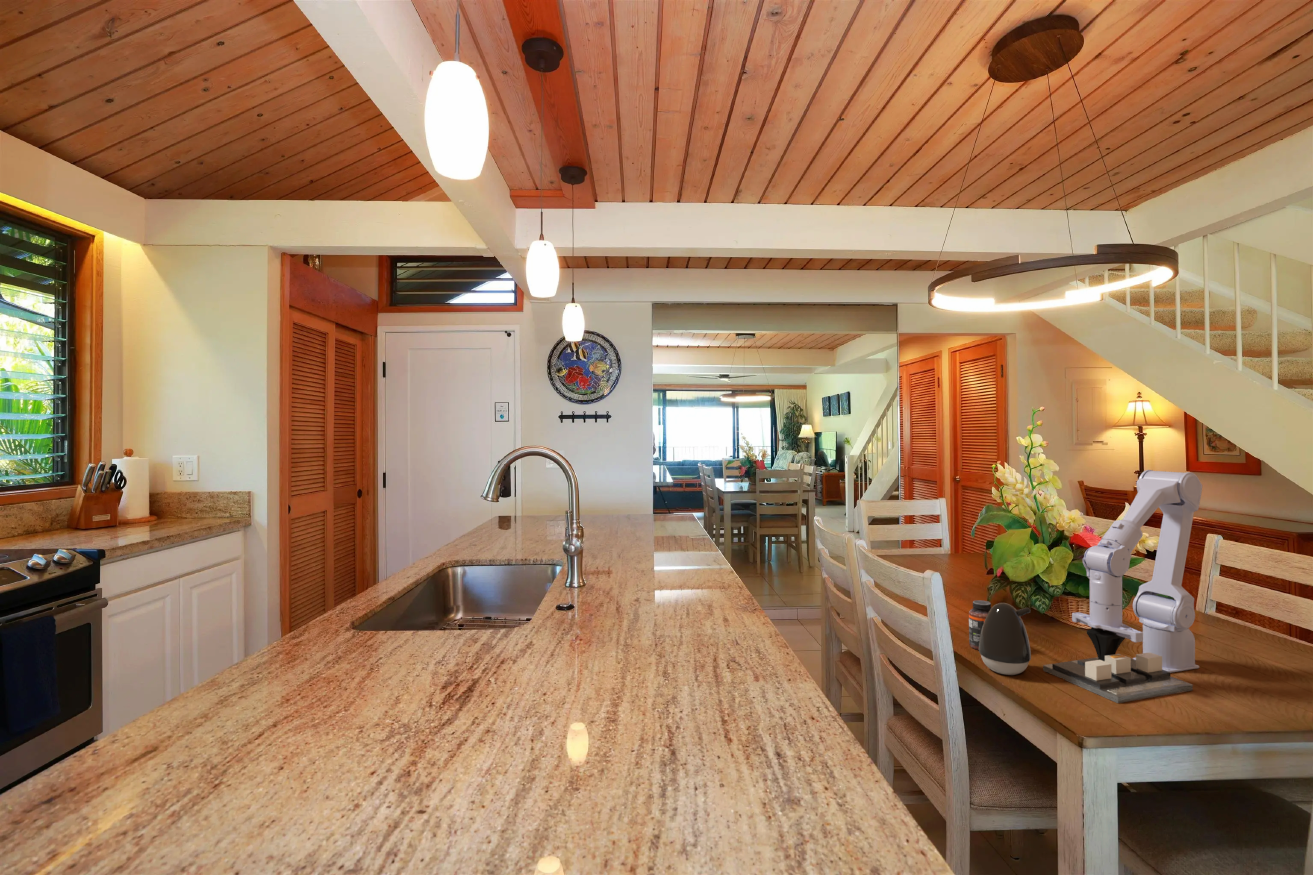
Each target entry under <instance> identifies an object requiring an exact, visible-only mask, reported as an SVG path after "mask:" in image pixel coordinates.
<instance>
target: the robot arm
mask: <svg viewBox="0 0 1313 875" xmlns="http://www.w3.org/2000/svg"><path fill="white" fill-rule="evenodd" d="M1135 486H1136V490H1137V494H1136V495H1135V497H1134V499H1133V500H1132V502H1131V504H1130V506H1129V508H1128V510H1127V511H1126V513H1125V515H1124V516H1123V518H1122V519H1119V520H1118V519H1117V520H1114V521H1113V522H1112V524H1111V525H1110V527H1109V528H1108V529H1107V530H1106V532H1105V533H1104V535H1103V537H1101V539H1100V540H1099V542H1098V543H1097V545H1093V546H1091V547H1088V548H1087V549H1086V550H1085V552H1084V555H1083V558H1082V564H1083V567H1084V568H1085V571H1086V577H1087V578H1088V579H1089V614H1087V613H1083V612H1078V611H1077V612H1072V613H1071V621H1072V622H1073V623H1078V624H1079V623H1080V624H1083V625H1086V626H1088V627H1090V629H1087V630H1086V634H1087V636H1088V637H1089V639H1090V641H1091V643H1092V645H1093V647H1094V650H1095V652H1096V655H1097V656H1096V657H1098V659H1099V660H1102V661H1105V656H1107V655H1114V654H1117V651H1118V649H1119V647H1120V646H1121V644H1122V643H1123V642H1124V640H1125V639H1128V640H1130V641H1131V642H1133V643H1142V653H1149V652H1151V653H1154V654H1156V655H1159V656H1162V670H1165V671H1168V672H1170V673H1175V672H1182V671H1189V670H1195V669H1199V668H1200V665H1198V664H1196V638H1195V635H1194V633H1193V632H1192V631H1191V630H1190V627H1191V626H1193V624H1194V621H1195V620H1196V612H1195V598H1194V596H1192V594H1191V593H1189V592H1188V591H1187V590H1186V589H1185V588H1184V587H1183V586H1182V585H1183V580H1184V579H1183V578H1184V572H1185V565H1186V561H1187V556H1188V549H1189V544H1190V538H1191V532H1192V526H1193V525H1192V524H1193V520H1194V513H1195V512H1197V511H1199V508H1200V503H1201V498H1202V492H1203V484H1202V482H1201V480H1200V478H1199V477H1198V476H1197V474H1196V473H1194V472H1191V471H1190V472H1179V471H1166V470H1165V471H1164V470H1163V471H1162V470H1153V469H1146V470H1143V472H1142V473H1140V476H1139V477H1138V480H1136V485H1135ZM1158 508H1159V509H1160V510H1161V512H1162V514H1163V516H1162V521H1161V525H1160V533H1159V538H1158V544H1157V548H1156V556H1155V561H1154V566H1153V572H1152V578H1151V580H1149V581H1147V582H1145V583H1142V584H1141V585H1139V586H1138V591H1137V594H1136V596H1135V597H1134V599H1133V602H1132V609H1133V613H1134V615H1135V616H1136V618H1138V619H1139V620H1138V621H1139V623H1141V624H1142V631H1140V630H1137V629H1135V628H1132V627H1131V626H1129V625H1127V624H1125V623H1123V576H1124V575H1125V574H1126V573H1127V572H1128V571H1129V568H1130V561H1131V560H1132V552H1133V551H1134V549H1135V548H1136V546H1137V545H1138V544H1139V542H1140V541H1141V539H1142V538H1143V536H1144V533H1143V531H1142V529H1141V528H1142V527H1143V526H1144V524H1145V523H1146V522H1148V520H1149V519H1150V518H1151V517H1152V515H1153V514H1154V513H1155V512H1156V510H1158ZM1162 595H1163V596H1162ZM1166 596H1168V597H1166ZM1170 597H1171V598H1170ZM1132 659H1134V660H1136V657H1133V658H1132Z"/></svg>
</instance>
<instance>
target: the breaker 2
mask: <svg viewBox="0 0 1313 875" xmlns="http://www.w3.org/2000/svg"><path fill="white" fill-rule="evenodd" d="M1135 658H1136V668H1137V669H1140V670H1142V671H1145V672H1148V673H1149V672H1155V671H1162V656H1159V655H1156V654H1154V653H1151V652H1149V653H1143V652H1142V653H1137V654H1135Z"/></svg>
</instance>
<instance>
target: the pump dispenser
mask: <svg viewBox="0 0 1313 875" xmlns="http://www.w3.org/2000/svg"><path fill="white" fill-rule="evenodd" d="M1029 613H1031V609H1030V608H1029V607H1025V608H1021V609H1016V608H1015V607H1014V606H1013V605H1011V604H1009V603H1006V602H999V603H995V604H994V605H993V606H991V609H990V611H989V613H988V614H987V616H986V619H985V621H984V624H983V627H982V630H981V635H980V641H979V650H978V653H979V654H980V656H981V660H982V662H983V663H984V665H985V666H986V667H987V668H988V669H989V670H991V671H993V672H995V673H996V674H999V675H1005V676H1016V675H1019V674H1021V673H1023V672H1024V671H1025V670H1027V667H1028V666H1029V663H1030V661H1031V660H1032V654H1031V653H1032V652H1031V645H1030V640H1029V636H1028V633H1027V632H1028V631H1027V629H1026V625H1025V624H1024V622H1023V619H1022V618H1021V617H1023V616H1025V615H1027V614H1029Z"/></svg>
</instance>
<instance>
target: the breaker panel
mask: <svg viewBox="0 0 1313 875" xmlns="http://www.w3.org/2000/svg"><path fill="white" fill-rule="evenodd" d="M1130 658H1131V657H1130ZM1095 660H1099V659H1098V656H1096V657H1090V658H1083V659H1076V660H1070V661H1069V660H1068V661H1063V662H1062V661H1061V662H1056V663H1048V664H1042V667H1043V668H1042V670H1043V672H1045V673H1048V674H1051V675H1053V676H1055V677H1057V678H1059V679H1061V678H1063V679H1062V680H1064V679H1065V680H1064V681H1066V682H1069V683H1071V684H1073V685H1075V686H1078V687H1080V688H1082V689H1084V690H1087V691H1089V692H1091V693H1094V694H1096V695H1098V696H1101V697H1102V698H1105V699H1107V700H1110V701H1112V702H1113V703H1116V704H1121V703H1126V702H1127V703H1128V702H1132V701H1138V700H1139V701H1140V700H1144V699H1151V698H1156V697H1163V696H1168V695H1173V694H1181V693H1186V692H1190V691H1193V690H1194V689H1193V688H1194V684H1192V683H1190V682H1187V681H1184V680H1181V679H1179V678H1175V677H1173V676H1171V673H1172V672H1171V673H1170V672H1168V671H1165V670H1162V671H1155V672H1149V673H1148V672H1145V671H1142V670H1140V669H1137V668H1136V660H1134V659H1133V658H1131V672H1127V673H1120V674H1115V673H1112V672H1111V679H1105V680H1098V681H1096V680H1093V679H1091V678H1089V677H1086V676H1085V662H1088V661H1095Z"/></svg>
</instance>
